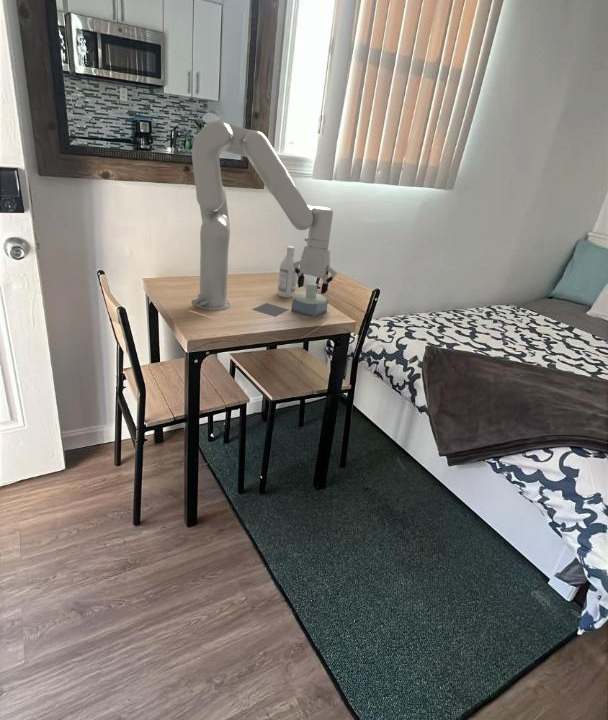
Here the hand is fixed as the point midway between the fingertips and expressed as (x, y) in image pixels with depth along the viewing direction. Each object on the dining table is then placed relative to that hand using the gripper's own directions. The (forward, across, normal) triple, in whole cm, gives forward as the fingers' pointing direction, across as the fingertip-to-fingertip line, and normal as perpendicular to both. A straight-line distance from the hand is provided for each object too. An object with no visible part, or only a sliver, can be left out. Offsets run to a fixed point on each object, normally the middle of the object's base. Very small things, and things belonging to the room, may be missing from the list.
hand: (311, 289), depth 167 cm
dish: (+9, 0, 0) cm, 9 cm away
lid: (+4, 0, 0) cm, 4 cm away
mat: (+9, -11, -10) cm, 17 cm away
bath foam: (+9, -16, +10) cm, 21 cm away
